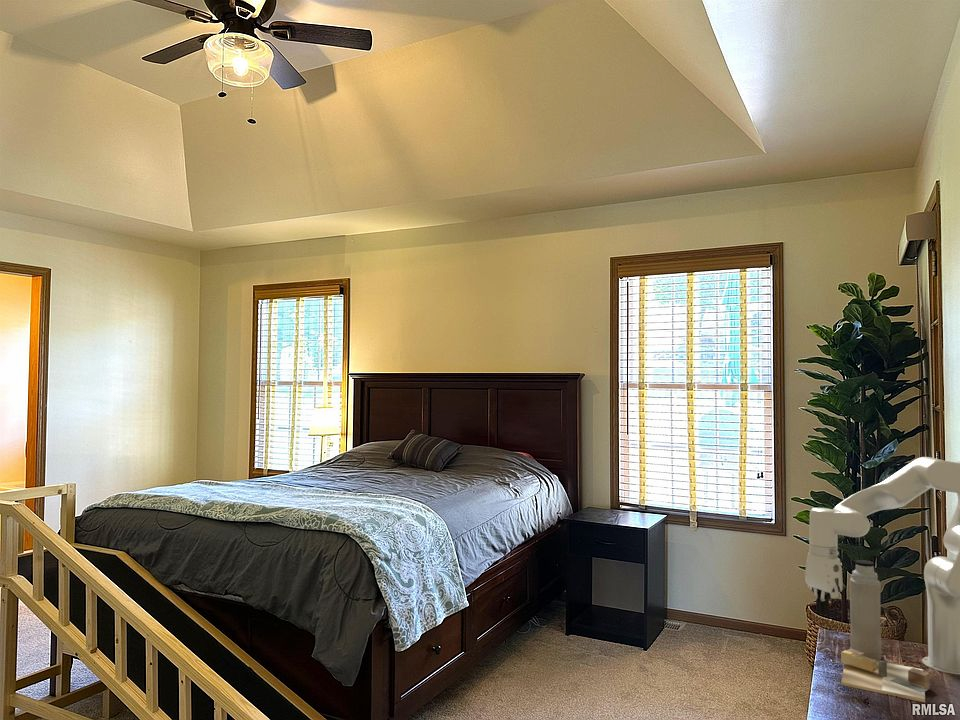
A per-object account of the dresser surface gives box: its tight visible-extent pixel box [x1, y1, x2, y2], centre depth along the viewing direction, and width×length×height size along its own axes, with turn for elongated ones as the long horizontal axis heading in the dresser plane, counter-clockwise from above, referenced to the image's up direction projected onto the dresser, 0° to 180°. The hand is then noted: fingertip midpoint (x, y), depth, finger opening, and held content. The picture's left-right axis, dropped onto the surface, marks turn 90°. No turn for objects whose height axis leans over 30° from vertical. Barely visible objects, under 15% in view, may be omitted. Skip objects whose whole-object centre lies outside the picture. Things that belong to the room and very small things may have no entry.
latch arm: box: [840, 649, 877, 672], centre depth 196 cm, size 8×2×3 cm, turn 39°
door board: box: [840, 648, 931, 703], centre depth 191 cm, size 21×20×5 cm
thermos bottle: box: [849, 559, 882, 661], centre depth 208 cm, size 8×8×28 cm
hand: (822, 613), depth 206 cm, fingers closed
